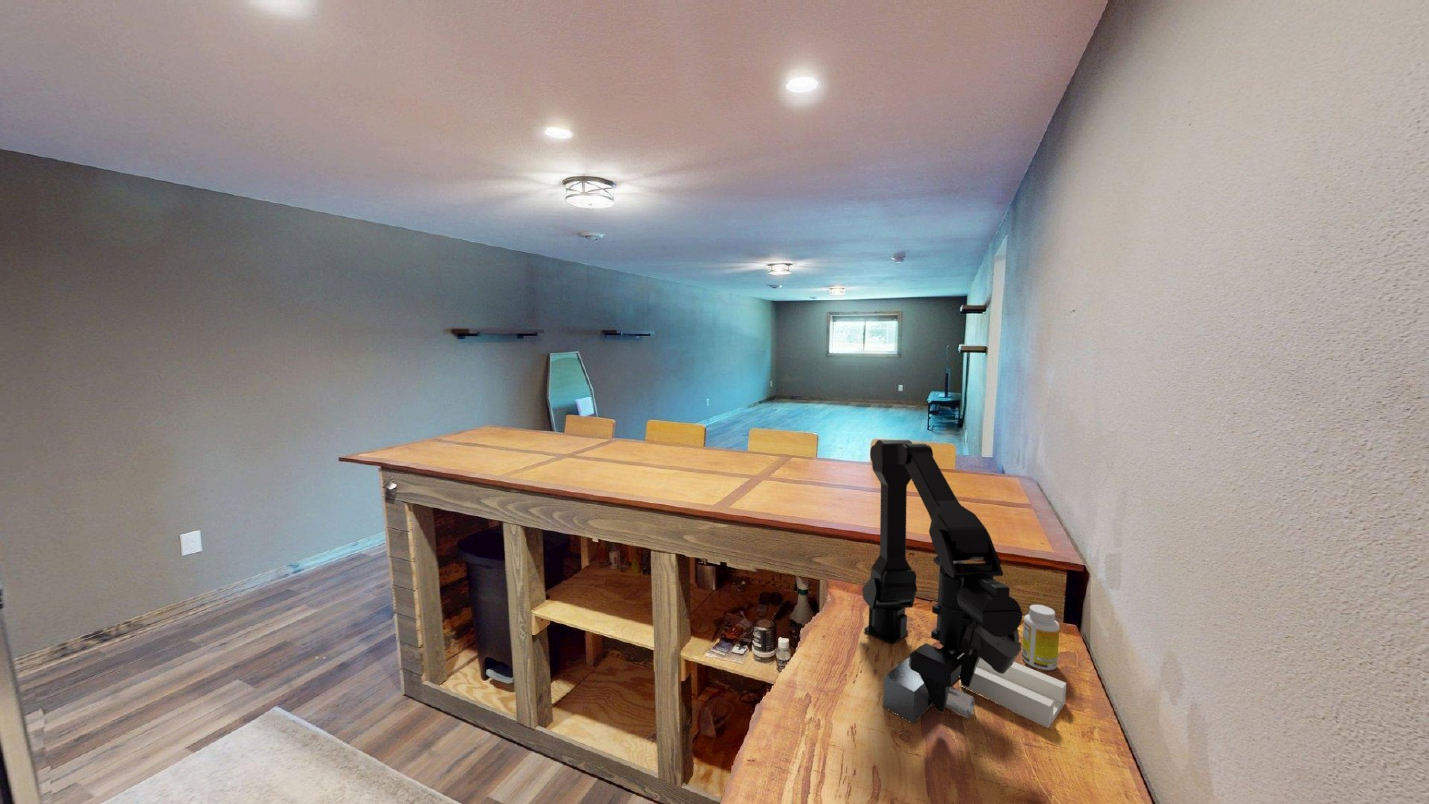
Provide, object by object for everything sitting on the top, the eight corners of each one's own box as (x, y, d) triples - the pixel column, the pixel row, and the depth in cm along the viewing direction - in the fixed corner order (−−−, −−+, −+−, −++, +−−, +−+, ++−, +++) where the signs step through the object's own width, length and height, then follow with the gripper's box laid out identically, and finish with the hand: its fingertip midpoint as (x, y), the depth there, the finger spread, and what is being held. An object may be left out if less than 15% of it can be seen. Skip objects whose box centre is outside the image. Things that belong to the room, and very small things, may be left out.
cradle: (960, 686, 87) (961, 667, 87) (980, 667, 93) (981, 648, 92) (1048, 728, 77) (1049, 706, 77) (1065, 703, 83) (1066, 682, 83)
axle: (891, 682, 86) (894, 663, 87) (901, 678, 89) (903, 660, 89) (964, 720, 77) (967, 699, 78) (973, 715, 80) (975, 694, 80)
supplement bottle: (1063, 667, 93) (1067, 613, 92) (1045, 675, 91) (1048, 619, 90) (1033, 651, 98) (1036, 599, 97) (1014, 658, 96) (1017, 605, 95)
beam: (882, 707, 82) (884, 676, 81) (924, 672, 91) (925, 644, 91) (912, 723, 78) (914, 691, 78) (952, 685, 87) (954, 656, 87)
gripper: (990, 645, 67) (983, 758, 68) (1037, 602, 79) (1030, 697, 80) (909, 613, 75) (905, 714, 76) (963, 578, 88) (958, 665, 89)
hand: (953, 697), depth 80 cm, fingers open, 9 cm apart
